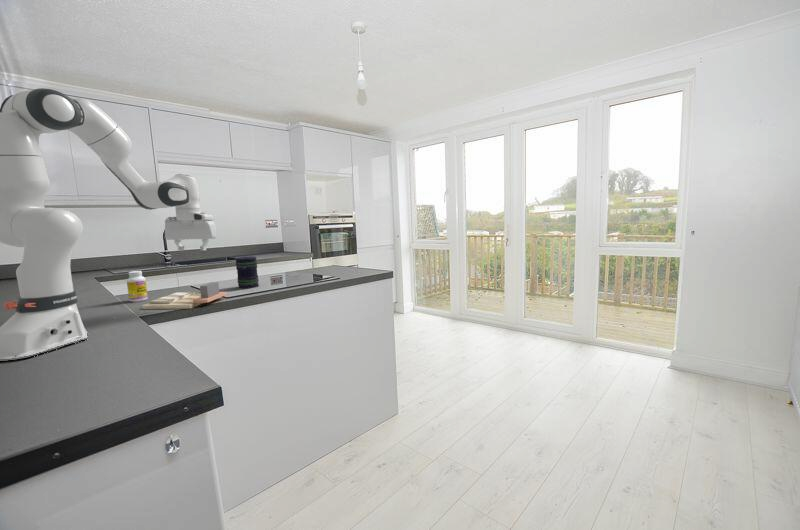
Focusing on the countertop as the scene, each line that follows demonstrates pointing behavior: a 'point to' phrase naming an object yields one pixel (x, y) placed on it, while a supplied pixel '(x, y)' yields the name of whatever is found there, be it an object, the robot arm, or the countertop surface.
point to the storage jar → (247, 272)
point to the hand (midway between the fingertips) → (192, 250)
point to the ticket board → (174, 301)
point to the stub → (209, 293)
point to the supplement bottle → (137, 287)
